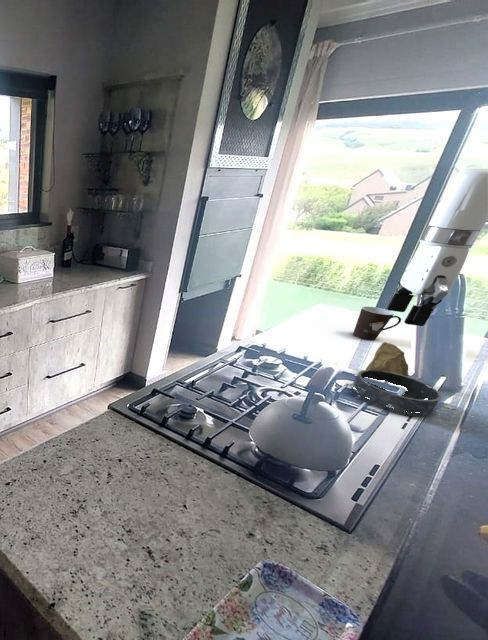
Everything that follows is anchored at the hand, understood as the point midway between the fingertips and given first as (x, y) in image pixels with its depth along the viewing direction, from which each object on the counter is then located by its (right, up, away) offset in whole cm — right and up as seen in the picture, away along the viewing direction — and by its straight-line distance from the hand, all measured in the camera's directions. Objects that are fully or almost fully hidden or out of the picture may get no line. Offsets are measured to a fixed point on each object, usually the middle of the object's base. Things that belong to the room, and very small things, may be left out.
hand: (403, 317), depth 89 cm
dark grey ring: (+14, -19, +17) cm, 29 cm away
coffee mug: (+44, 0, +55) cm, 71 cm away
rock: (+23, -14, +28) cm, 39 cm away
